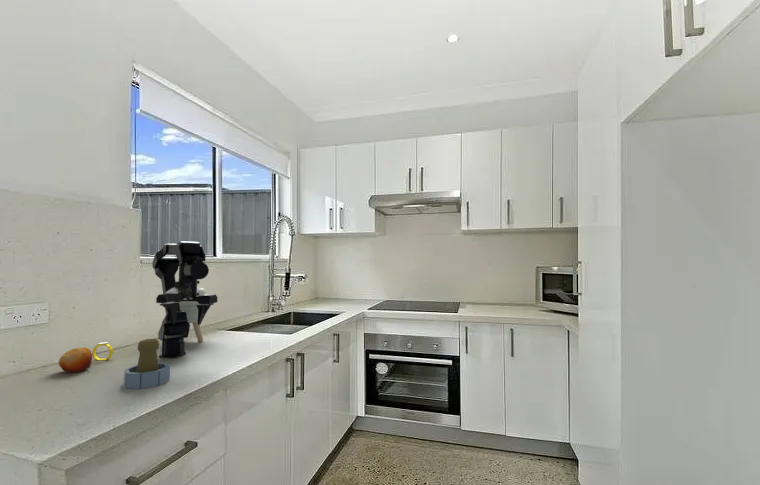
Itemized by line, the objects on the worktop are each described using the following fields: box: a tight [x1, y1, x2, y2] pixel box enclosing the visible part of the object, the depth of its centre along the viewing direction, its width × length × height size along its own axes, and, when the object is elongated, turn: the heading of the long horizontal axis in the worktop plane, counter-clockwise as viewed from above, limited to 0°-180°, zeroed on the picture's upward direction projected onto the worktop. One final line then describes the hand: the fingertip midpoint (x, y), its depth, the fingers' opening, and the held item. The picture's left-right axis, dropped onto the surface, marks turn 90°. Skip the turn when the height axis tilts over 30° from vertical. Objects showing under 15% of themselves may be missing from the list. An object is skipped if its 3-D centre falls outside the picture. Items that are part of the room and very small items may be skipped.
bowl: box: [122, 362, 171, 390], centre depth 103 cm, size 11×11×4 cm
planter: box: [164, 287, 207, 343], centre depth 151 cm, size 16×16×22 cm
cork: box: [136, 338, 160, 373], centre depth 103 cm, size 6×6×11 cm
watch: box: [91, 341, 114, 361], centre depth 124 cm, size 6×3×6 cm, turn 95°
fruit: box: [58, 346, 93, 373], centre depth 113 cm, size 8×8×8 cm
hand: (186, 324), depth 122 cm, fingers open, 9 cm apart
